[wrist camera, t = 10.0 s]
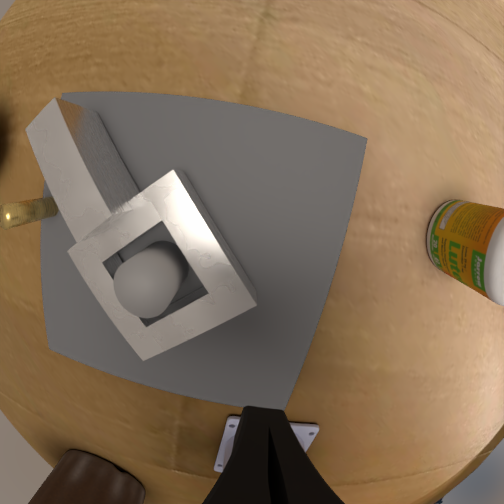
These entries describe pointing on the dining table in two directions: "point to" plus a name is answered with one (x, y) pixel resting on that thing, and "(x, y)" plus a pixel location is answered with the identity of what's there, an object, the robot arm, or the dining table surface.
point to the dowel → (27, 212)
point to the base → (233, 231)
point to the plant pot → (88, 483)
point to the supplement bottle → (470, 246)
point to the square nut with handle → (134, 228)
